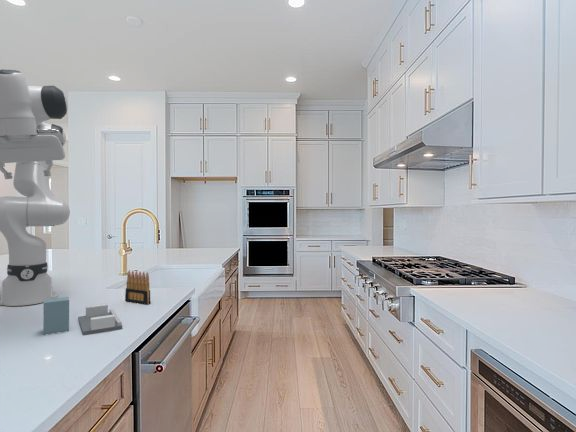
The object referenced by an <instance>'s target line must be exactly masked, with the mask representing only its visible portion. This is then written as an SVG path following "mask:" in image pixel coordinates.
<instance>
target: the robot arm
mask: <svg viewBox="0 0 576 432" xmlns="http://www.w3.org/2000/svg"><path fill="white" fill-rule="evenodd" d="M68 109H69V107H68V100H67V97H66V95H65V94H64V92H63V90H61V89H60V88H59V87H57V86H55V85H43V86H42V85H28V83H27V81H26V78H25V74H24V73H23V72H21V71H20V70H16V69H1V68H0V172H1V173H2V174H3V176H4V180H12V179H13V188H14V189H15V190H16V191H17V192H18V193H19V194H20V195H22V196H0V233H1V234H2V236H3V237H4V238H5V240H6V242H7V248H8V264H7V268H6V274H7V276H6V277H5V278H4V279H3V280H2V281H1V292H0V293H1V294H0V306H6V307H7V306H8V307H21V306H31V305H36V304H37V305H38V304H41V303H44V299H51V298H59V295H58V294H56V293H55V292H54V291H53V278H52V276H51V275H49V274H48V273H47V272H48V268H49V266H48V262H47V242H46V241H44V240H43V239H42V238H41V237H39V236H36V235H33V234H31V233H29V232H28V230H27V228H28V227H54V226H61V225H64V224H65V223H66V222H67V221H68V220H69V217H70V213H71V210H70V207H69V204H68V203H67V202H66V201H65V200H63V198H59V197H58V196H57V195H56V194H54V192H53V191H52V190H51V188H50V177H51V176H52V174H51V169H52V167H53V165H54V162H53V161H63V160H64V159H65V158H66V153H65V149H64V145H65V143H66V140H67V137H66V133H65V131H64V128H62V126H60V125H57V124H53V123H47V121H49V120H51V119H52V120H61V119H63V118H64V117H65V116H66V115H67V112H68ZM10 163H11V164H13V163H16V164H15V170H14V176H13V173H12V172H8V170H6V169H5V166H6V165H5V164H10Z"/></svg>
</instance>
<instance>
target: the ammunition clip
mask: <svg viewBox="0 0 576 432" xmlns="http://www.w3.org/2000/svg"><path fill="white" fill-rule="evenodd" d="M126 279H127V280H126V288H125V293H124V294H125V295H124V296H125V297H124V302H125V301H126V302H125V303H130V302H131V304H137V303H138V304H139V305H145V306H147V305H150V304H151V290H150V276H149V272H146V273H145V271H143V272H141V271H139V272H138V271H137V270H136V271H135V272H134V270H132V271H130V270H128V271H127V277H126Z"/></svg>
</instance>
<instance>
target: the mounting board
mask: <svg viewBox="0 0 576 432" xmlns="http://www.w3.org/2000/svg"><path fill="white" fill-rule="evenodd" d="M108 306H109V305H108V303H103V304H102V303H101V304H95V305H94V304H92V305H85V315H81V316H77V317H78V323H79V326H80V330H81V334H82V336H86V335H93V334H98V333H105V332H110V331H117V330H123V325H122V320H121V319H120V318H119V316H118V314H117V312H115V310H114V309H113V308H110V309H108Z"/></svg>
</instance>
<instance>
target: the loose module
mask: <svg viewBox="0 0 576 432" xmlns="http://www.w3.org/2000/svg"><path fill="white" fill-rule="evenodd" d="M42 317H43V329H42V334H43V335H42V336H47V335H46V334H48V335H53V334H52V333H54V334H58V333H57V332H61V333H66V332H65V331H67V332H70V331H69V330H70V297H69V296H61V297H58V298H51V299H44V302H43V316H42Z"/></svg>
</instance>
